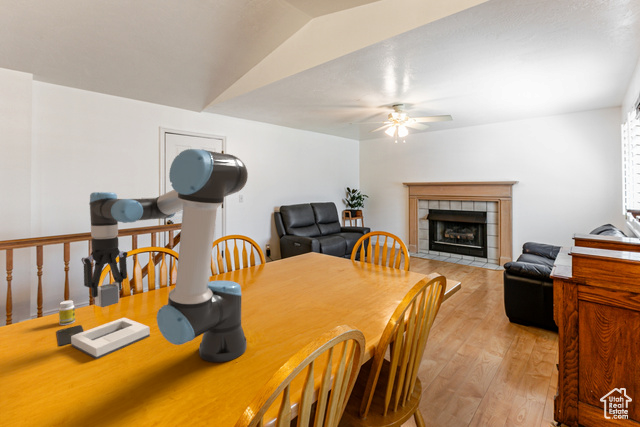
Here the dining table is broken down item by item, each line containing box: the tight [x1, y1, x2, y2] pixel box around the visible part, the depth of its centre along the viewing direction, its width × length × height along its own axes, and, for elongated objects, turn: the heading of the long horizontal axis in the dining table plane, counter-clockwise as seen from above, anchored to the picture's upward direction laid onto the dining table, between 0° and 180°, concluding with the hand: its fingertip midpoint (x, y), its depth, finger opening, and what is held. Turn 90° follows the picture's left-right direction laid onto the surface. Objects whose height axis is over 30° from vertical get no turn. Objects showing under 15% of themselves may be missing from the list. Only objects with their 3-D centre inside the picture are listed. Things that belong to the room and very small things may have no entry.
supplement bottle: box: [58, 299, 76, 326], centre depth 116 cm, size 5×5×8 cm
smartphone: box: [56, 324, 85, 347], centre depth 107 cm, size 7×1×15 cm
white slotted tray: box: [70, 317, 151, 360], centre depth 103 cm, size 16×17×4 cm
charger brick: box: [98, 283, 119, 308], centre depth 103 cm, size 5×5×6 cm
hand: (107, 302), depth 103 cm, fingers closed on charger brick, 5 cm apart
